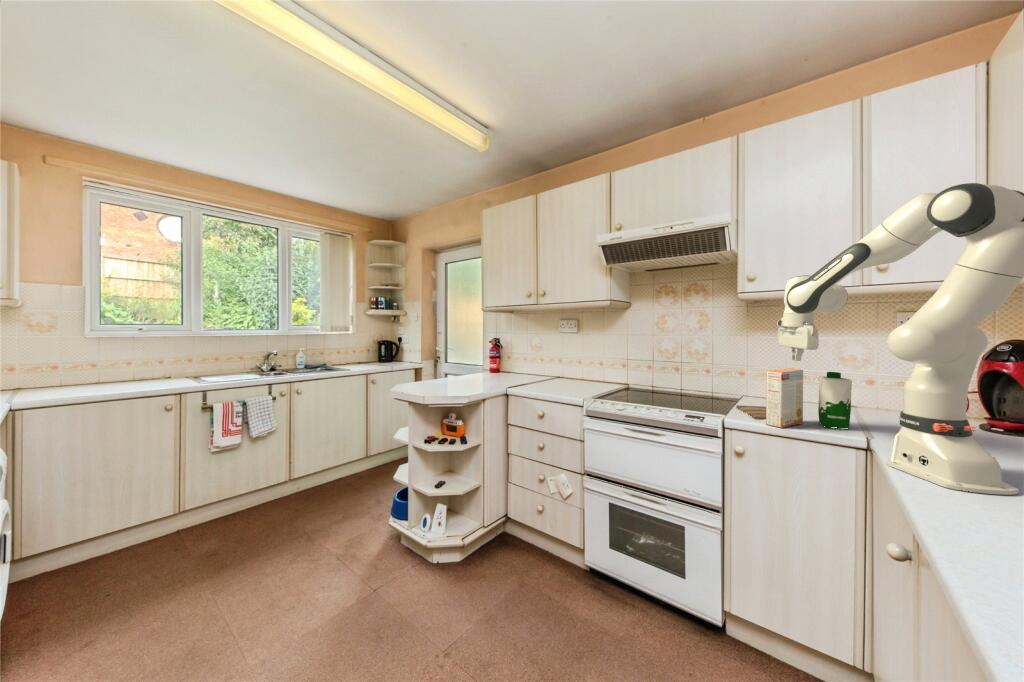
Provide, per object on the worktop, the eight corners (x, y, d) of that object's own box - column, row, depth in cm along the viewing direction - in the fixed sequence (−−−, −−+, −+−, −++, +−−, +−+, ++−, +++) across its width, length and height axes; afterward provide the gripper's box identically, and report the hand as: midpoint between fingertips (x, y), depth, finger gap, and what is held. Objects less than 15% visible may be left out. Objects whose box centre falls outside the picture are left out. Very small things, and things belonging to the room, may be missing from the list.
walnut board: (800, 421, 146) (800, 418, 146) (754, 419, 150) (754, 416, 150) (776, 409, 166) (776, 407, 166) (736, 407, 169) (736, 405, 169)
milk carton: (844, 425, 141) (847, 372, 140) (853, 431, 133) (855, 375, 132) (815, 422, 145) (817, 371, 144) (821, 428, 137) (823, 373, 136)
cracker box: (786, 420, 147) (787, 367, 147) (803, 424, 142) (804, 369, 141) (764, 424, 142) (765, 369, 141) (781, 428, 136) (782, 371, 135)
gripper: (825, 322, 123) (823, 364, 123) (793, 321, 143) (791, 357, 143) (803, 322, 124) (801, 363, 125) (774, 321, 144) (773, 357, 145)
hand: (796, 360), depth 134 cm, fingers closed
